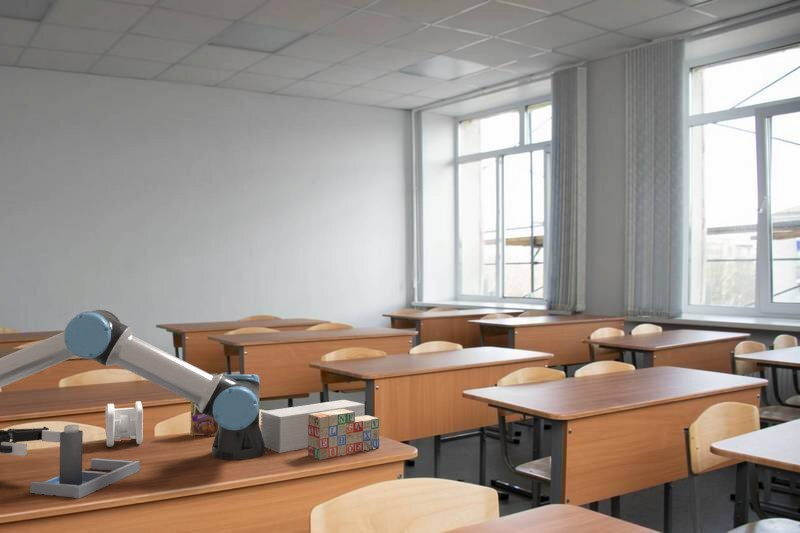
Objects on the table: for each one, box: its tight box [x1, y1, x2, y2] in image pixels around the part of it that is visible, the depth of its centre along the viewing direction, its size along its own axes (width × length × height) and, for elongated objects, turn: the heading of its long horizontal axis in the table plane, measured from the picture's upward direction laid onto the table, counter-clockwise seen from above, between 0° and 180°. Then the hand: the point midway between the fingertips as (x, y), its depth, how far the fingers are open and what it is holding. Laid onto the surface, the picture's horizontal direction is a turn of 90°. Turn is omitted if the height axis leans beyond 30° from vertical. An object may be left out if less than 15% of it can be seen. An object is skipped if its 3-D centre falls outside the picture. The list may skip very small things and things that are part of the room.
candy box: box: [189, 401, 218, 437], centre depth 230 cm, size 9×4×15 cm, turn 96°
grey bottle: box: [59, 424, 84, 486], centre depth 173 cm, size 5×5×14 cm
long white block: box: [260, 399, 366, 454], centre depth 223 cm, size 32×11×11 cm, turn 132°
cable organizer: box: [104, 400, 144, 448], centre depth 219 cm, size 15×11×12 cm
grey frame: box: [29, 458, 141, 499], centre depth 178 cm, size 14×24×2 cm, turn 167°
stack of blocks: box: [307, 409, 380, 460], centre depth 210 cm, size 21×6×12 cm, turn 129°
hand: (46, 443), depth 174 cm, fingers open, 13 cm apart
